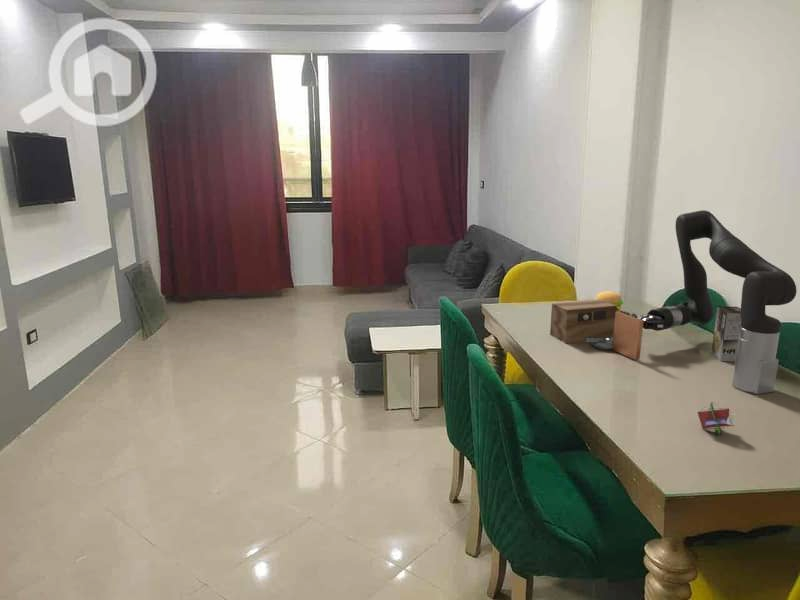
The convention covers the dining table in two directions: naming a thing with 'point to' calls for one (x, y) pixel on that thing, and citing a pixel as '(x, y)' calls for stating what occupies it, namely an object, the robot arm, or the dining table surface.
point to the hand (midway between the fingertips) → (628, 325)
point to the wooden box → (582, 320)
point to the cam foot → (622, 337)
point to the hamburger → (611, 299)
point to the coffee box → (726, 333)
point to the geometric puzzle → (716, 418)
